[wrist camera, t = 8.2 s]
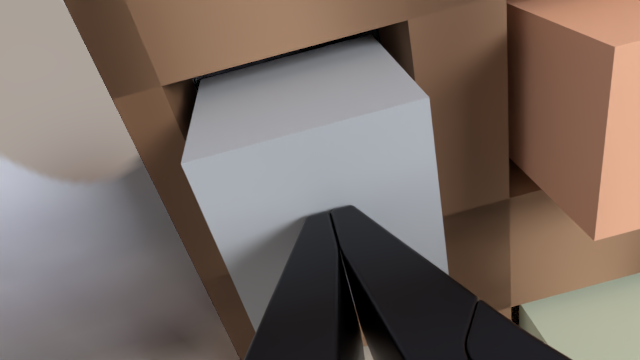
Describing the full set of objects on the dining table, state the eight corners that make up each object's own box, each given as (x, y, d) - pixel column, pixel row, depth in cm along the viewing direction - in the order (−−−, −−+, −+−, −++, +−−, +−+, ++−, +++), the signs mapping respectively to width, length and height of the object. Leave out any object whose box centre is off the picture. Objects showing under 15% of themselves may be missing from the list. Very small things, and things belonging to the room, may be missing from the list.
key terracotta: (668, -46, 11) (862, -20, 7) (644, 112, 13) (787, 189, 10) (498, -1, 11) (615, 47, 7) (502, 150, 13) (594, 241, 10)
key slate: (371, 34, 11) (429, 97, 7) (395, 179, 13) (449, 280, 10) (200, 80, 11) (180, 163, 7) (252, 217, 13) (255, 331, 10)
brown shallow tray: (697, -188, 11) (837, -214, 8) (615, 331, 20) (669, 394, 18) (103, -29, 11) (60, -6, 8) (297, 416, 20) (305, 491, 18)
